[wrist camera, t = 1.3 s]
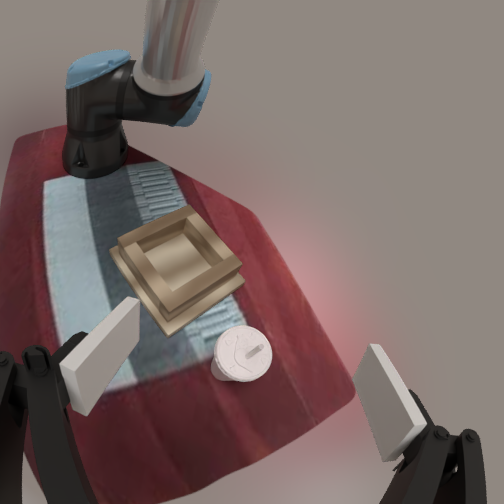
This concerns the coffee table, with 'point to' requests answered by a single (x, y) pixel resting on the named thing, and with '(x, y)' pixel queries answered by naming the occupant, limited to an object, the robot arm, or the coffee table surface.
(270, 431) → the coffee table surface
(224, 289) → the wooden box
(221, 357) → the smoothie
